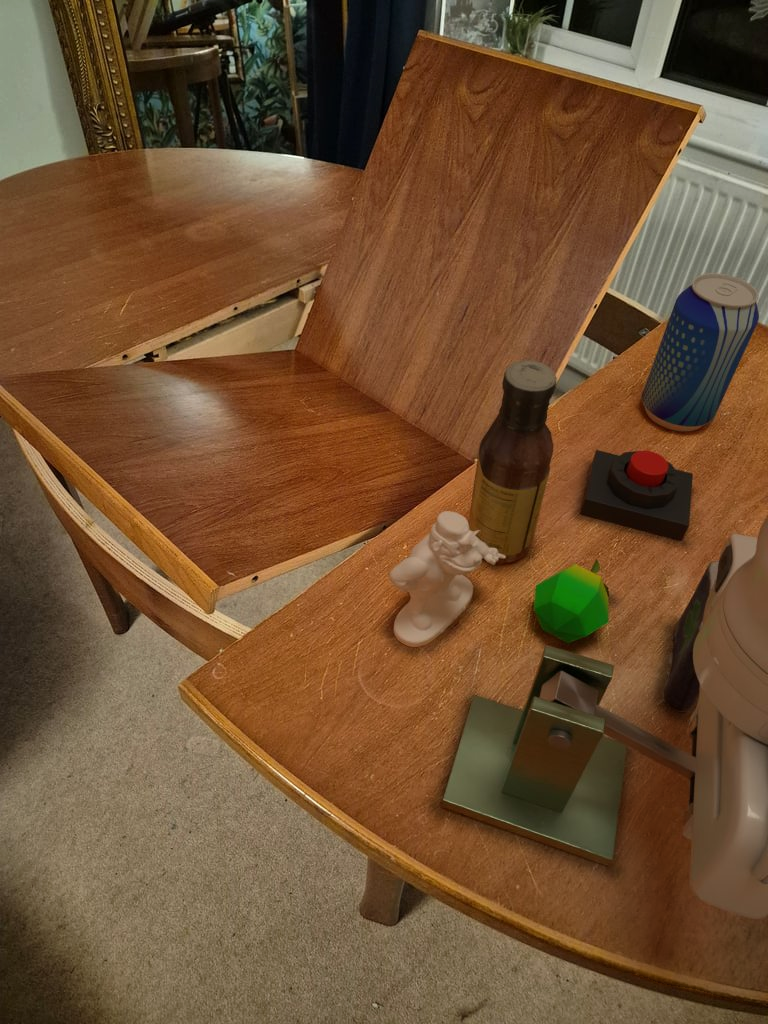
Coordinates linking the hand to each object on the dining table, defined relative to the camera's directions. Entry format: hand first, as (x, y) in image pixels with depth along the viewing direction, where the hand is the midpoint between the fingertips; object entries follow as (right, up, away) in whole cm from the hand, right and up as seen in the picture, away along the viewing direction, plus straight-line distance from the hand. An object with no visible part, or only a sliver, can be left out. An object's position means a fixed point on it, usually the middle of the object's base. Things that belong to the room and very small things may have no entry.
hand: (698, 779), depth 48 cm
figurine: (-16, +8, +17) cm, 25 cm away
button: (+5, +21, +26) cm, 34 cm away
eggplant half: (+5, +4, +14) cm, 16 cm away
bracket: (-9, -2, +7) cm, 12 cm away
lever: (-5, +2, 0) cm, 6 cm away
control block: (+5, +19, +28) cm, 34 cm away
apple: (-4, +8, +18) cm, 20 cm away
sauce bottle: (-10, +14, +23) cm, 29 cm away
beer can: (+14, +29, +39) cm, 51 cm away
